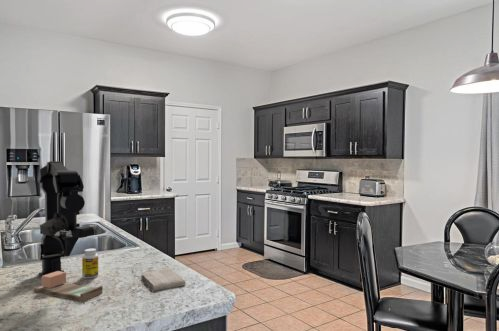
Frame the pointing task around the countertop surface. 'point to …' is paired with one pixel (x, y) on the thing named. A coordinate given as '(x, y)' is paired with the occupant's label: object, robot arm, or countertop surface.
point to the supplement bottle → (90, 264)
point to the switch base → (71, 291)
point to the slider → (53, 279)
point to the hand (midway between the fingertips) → (67, 256)
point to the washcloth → (162, 279)
